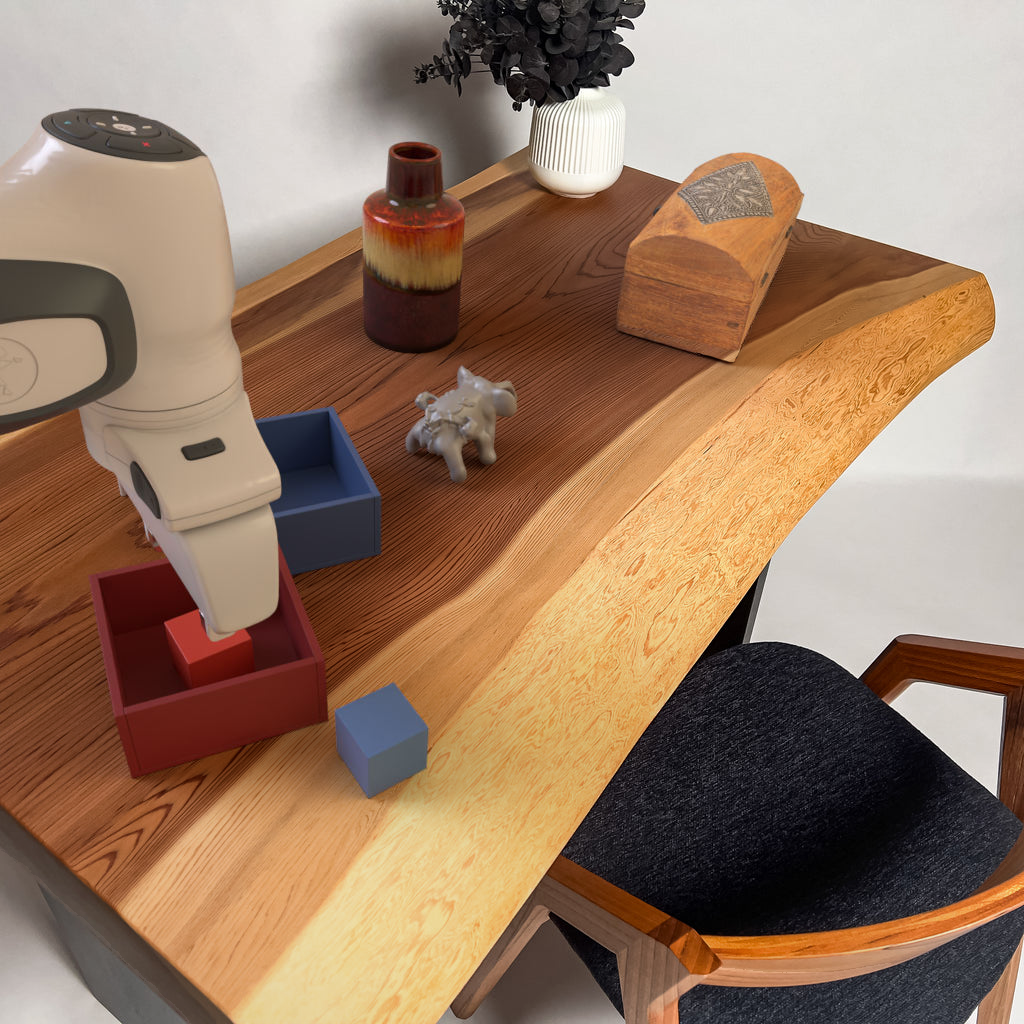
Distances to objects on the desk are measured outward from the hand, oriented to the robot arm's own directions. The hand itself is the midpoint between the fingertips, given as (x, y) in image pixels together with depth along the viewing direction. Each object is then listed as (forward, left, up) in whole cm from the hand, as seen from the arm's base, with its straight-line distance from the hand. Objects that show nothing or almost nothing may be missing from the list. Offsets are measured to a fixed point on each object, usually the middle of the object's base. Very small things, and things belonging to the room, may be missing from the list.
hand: (190, 585), depth 63 cm
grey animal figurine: (+28, +20, -10) cm, 36 cm away
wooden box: (+70, +41, -10) cm, 81 cm away
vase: (+31, +43, -10) cm, 54 cm away
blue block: (+9, -11, -10) cm, 17 cm away
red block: (+1, 0, -9) cm, 9 cm away
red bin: (0, 0, -10) cm, 10 cm away
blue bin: (+9, +15, -10) cm, 20 cm away
